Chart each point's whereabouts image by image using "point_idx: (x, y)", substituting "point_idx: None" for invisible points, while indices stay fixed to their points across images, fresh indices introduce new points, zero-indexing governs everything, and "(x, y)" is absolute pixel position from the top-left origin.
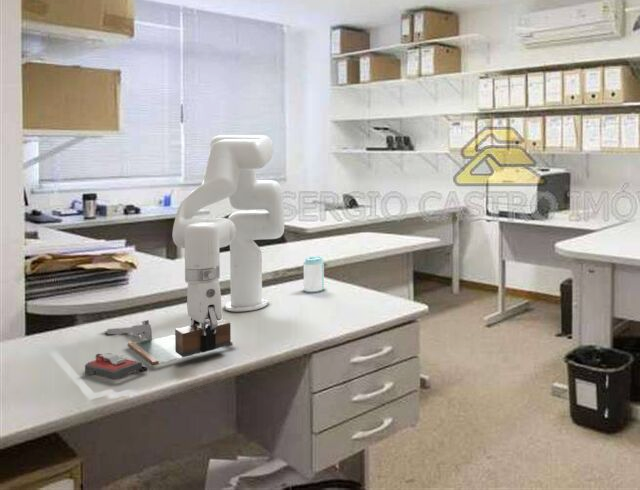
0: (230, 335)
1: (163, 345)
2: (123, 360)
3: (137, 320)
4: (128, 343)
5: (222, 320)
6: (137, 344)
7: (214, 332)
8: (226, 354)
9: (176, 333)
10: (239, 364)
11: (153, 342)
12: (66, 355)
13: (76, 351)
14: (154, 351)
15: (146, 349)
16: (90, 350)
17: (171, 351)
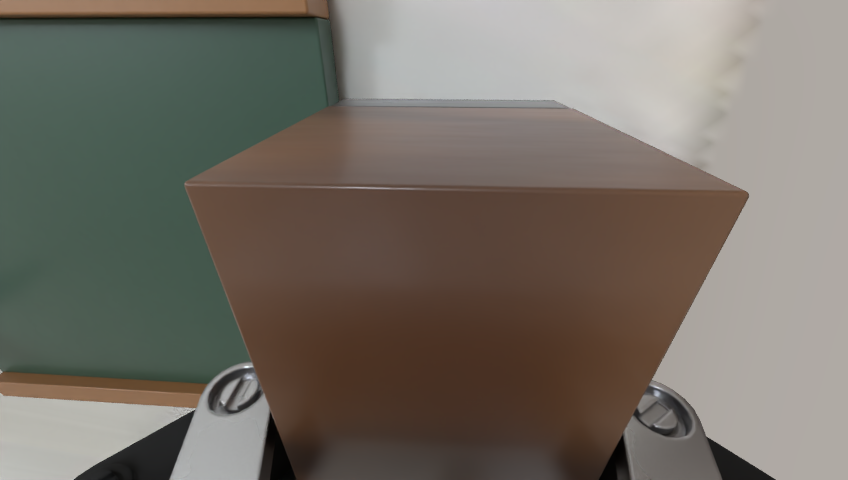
0: (598, 122)
1: (81, 308)
2: None
3: None
4: (12, 394)
5: (379, 248)
6: (20, 366)
7: (676, 411)
8: (410, 69)
9: None
10: (702, 94)
11: (6, 321)
12: (45, 465)
13: (7, 446)
14: (172, 358)
15: (122, 367)
16: (7, 427)
17: (216, 318)
